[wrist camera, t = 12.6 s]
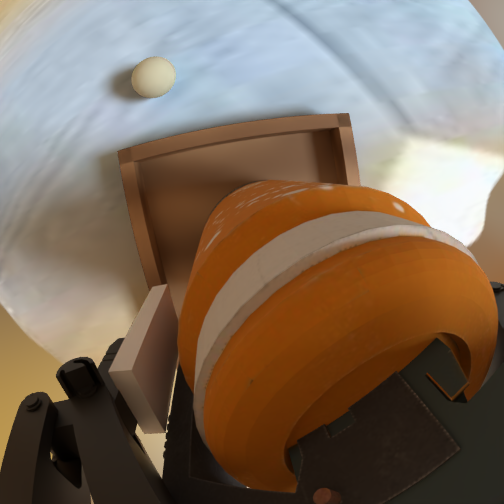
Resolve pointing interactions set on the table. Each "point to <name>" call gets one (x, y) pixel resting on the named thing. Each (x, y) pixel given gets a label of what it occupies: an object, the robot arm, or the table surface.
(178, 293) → the tray
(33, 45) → the table surface
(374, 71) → the table surface
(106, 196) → the table surface
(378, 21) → the table surface
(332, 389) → the canister
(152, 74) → the ball
